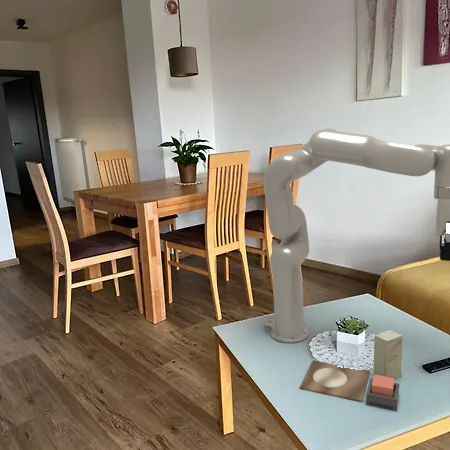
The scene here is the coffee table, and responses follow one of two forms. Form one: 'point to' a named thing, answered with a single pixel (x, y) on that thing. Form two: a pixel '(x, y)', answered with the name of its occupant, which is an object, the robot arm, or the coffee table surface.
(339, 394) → the board
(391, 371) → the skincare box
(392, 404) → the button housing
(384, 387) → the button
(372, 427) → the coffee table surface
